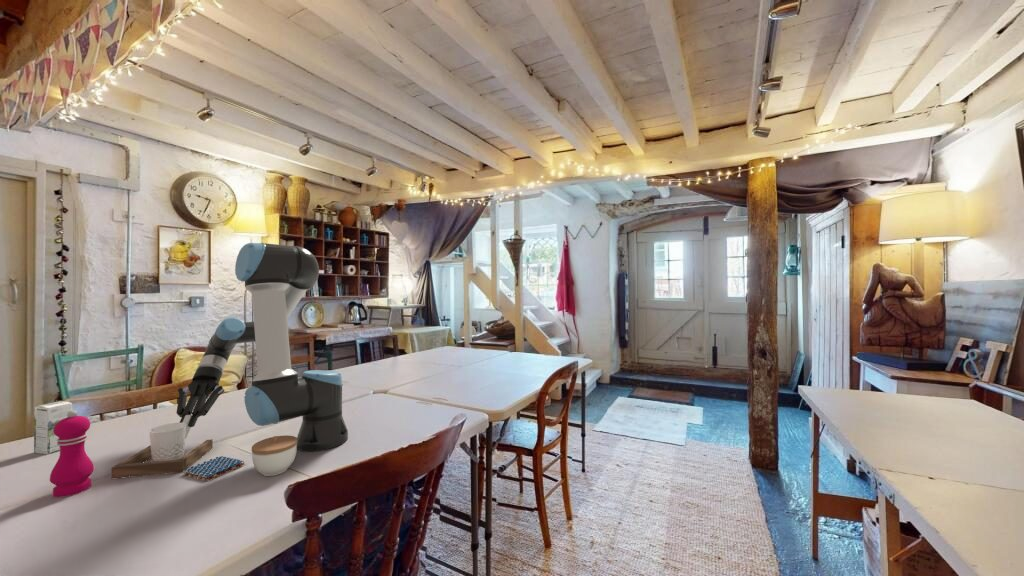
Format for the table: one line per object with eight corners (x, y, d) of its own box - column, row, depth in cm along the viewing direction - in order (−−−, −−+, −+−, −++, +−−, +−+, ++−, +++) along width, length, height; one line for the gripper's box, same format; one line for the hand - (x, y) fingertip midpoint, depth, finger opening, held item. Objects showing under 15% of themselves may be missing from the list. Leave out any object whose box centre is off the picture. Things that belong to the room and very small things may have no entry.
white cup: (161, 469, 106) (161, 433, 106) (142, 465, 108) (142, 430, 108) (192, 457, 113) (192, 424, 113) (174, 454, 116) (174, 421, 116)
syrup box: (58, 445, 122) (58, 400, 122) (72, 447, 121) (72, 401, 121) (33, 453, 117) (33, 406, 117) (47, 454, 116) (47, 407, 116)
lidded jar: (242, 476, 102) (242, 441, 102) (279, 459, 112) (279, 427, 112) (269, 483, 98) (269, 447, 98) (306, 465, 108) (306, 432, 108)
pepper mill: (53, 501, 90) (52, 417, 90) (46, 493, 94) (46, 412, 94) (97, 488, 96) (97, 408, 96) (90, 480, 100) (89, 404, 100)
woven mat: (206, 484, 99) (206, 476, 99) (180, 477, 102) (180, 470, 102) (247, 466, 108) (247, 459, 108) (222, 461, 112) (222, 454, 112)
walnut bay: (151, 454, 116) (151, 444, 116) (212, 448, 119) (212, 439, 119) (111, 479, 101) (111, 467, 101) (182, 471, 104) (182, 461, 104)
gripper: (234, 375, 137) (210, 440, 121) (192, 378, 134) (161, 444, 118) (227, 364, 132) (201, 429, 116) (183, 366, 129) (150, 433, 113)
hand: (181, 436), depth 117 cm, fingers closed
